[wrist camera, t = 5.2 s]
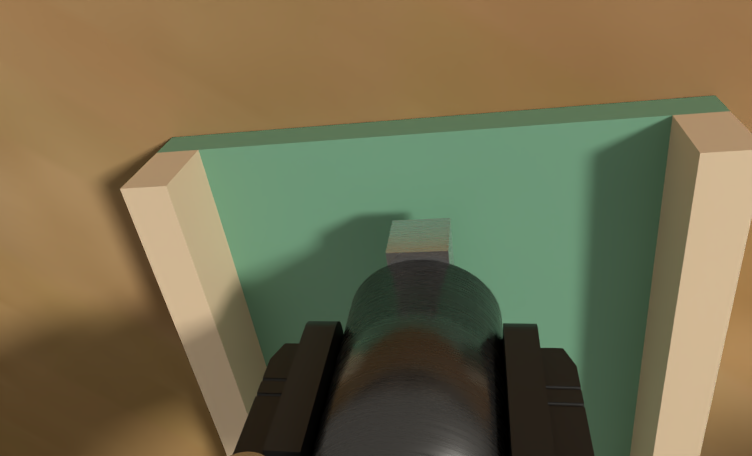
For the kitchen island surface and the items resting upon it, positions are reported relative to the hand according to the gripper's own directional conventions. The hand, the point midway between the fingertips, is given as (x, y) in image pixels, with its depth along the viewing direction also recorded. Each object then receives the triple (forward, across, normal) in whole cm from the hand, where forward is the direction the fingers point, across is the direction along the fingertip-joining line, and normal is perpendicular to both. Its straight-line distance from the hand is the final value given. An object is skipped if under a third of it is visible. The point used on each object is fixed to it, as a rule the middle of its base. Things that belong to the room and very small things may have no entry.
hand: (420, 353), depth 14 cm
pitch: (+5, 0, +6) cm, 8 cm away
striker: (+3, 0, +5) cm, 6 cm away
